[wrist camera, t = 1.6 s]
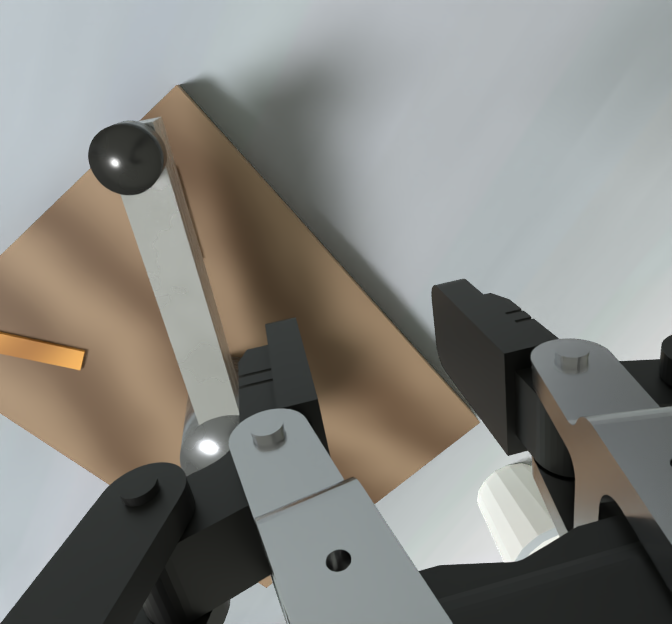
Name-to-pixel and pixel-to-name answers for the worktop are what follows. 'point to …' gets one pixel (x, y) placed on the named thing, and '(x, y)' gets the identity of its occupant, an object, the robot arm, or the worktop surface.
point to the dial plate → (236, 317)
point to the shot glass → (515, 512)
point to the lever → (174, 279)
